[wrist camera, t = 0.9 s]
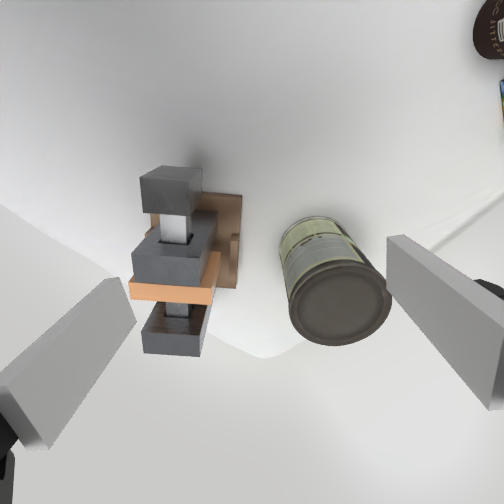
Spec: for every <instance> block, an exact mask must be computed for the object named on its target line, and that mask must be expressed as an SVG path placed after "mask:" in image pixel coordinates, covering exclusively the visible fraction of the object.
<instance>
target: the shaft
mask: <svg viewBox="0 0 504 504" xmlns="http://www.w3.org/2000/svg"><path fill="white" fill-rule="evenodd" d="M140 186H141V196H142V207H143V213H153V214H160V228H161V242H162V243H163V244H176V245H189V244H190V242H191V214H192V213H193V211H194V209H195V208H196V206H197V205H198V203H199V202H200V200H201V199H202V169H199V168H187V167H175V166H164V165H162V166H160V167H158V168H156V169H154V170H152V171H150V172H149V173H147V174H145V175H143V176H141V177H140ZM192 312H193V304H189V303H175V302H166V313H167V317H172V318H186V319H190V318H191V315H192Z"/></svg>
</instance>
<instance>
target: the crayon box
mask: <svg viewBox="0 0 504 504" xmlns="http://www.w3.org/2000/svg"><path fill="white" fill-rule="evenodd" d="M500 85H501V93H502V102H503V112H504V80H502V81H501V82H500Z"/></svg>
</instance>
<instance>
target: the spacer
mask: <svg viewBox="0 0 504 504" xmlns="http://www.w3.org/2000/svg"><path fill="white" fill-rule="evenodd" d="M220 259H221V252H215V251H211V254H210V257H209V260H208V263H207V266H206V269H205V272H204V275H203V278H202V281H201V284H200V287H192V286H178V285H165V284H151V283H138V282H135V280H134V275H133V277H132V278H131V279H130V281H129V282H128V284H129V290H130V297H131V299H134V300H148V301H162V302H175V303H189V304H203V305H211V304H212V299H213V295H214V291H215V286H216V282H217V278H218V274H219V269H220Z"/></svg>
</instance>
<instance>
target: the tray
mask: <svg viewBox="0 0 504 504" xmlns="http://www.w3.org/2000/svg"><path fill="white" fill-rule="evenodd" d="M241 205H242V196H241V195H230V194H218V193H206V192H202V199H201V200H200V202H199V203H198V205H197V206H196V208H195V209H194V210H207V211H218V231H217V235H216V238H215V241H214V245H213V248H212V251H215V252H221V259H220V269H219V274H218V278H217V282H216V287H220V288H233V289H236V280H237V265H238V250H239V235H240V220H241ZM150 215H151V228H150V229H149V230H148V231H147V232H146V234H145V238H146V237H147V235H148V234H149V233H150V232H151V231H152V230H153V229H154V228H155V227H156V225H157V224H158V223H159V222H160V214H153V213H150Z"/></svg>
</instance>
